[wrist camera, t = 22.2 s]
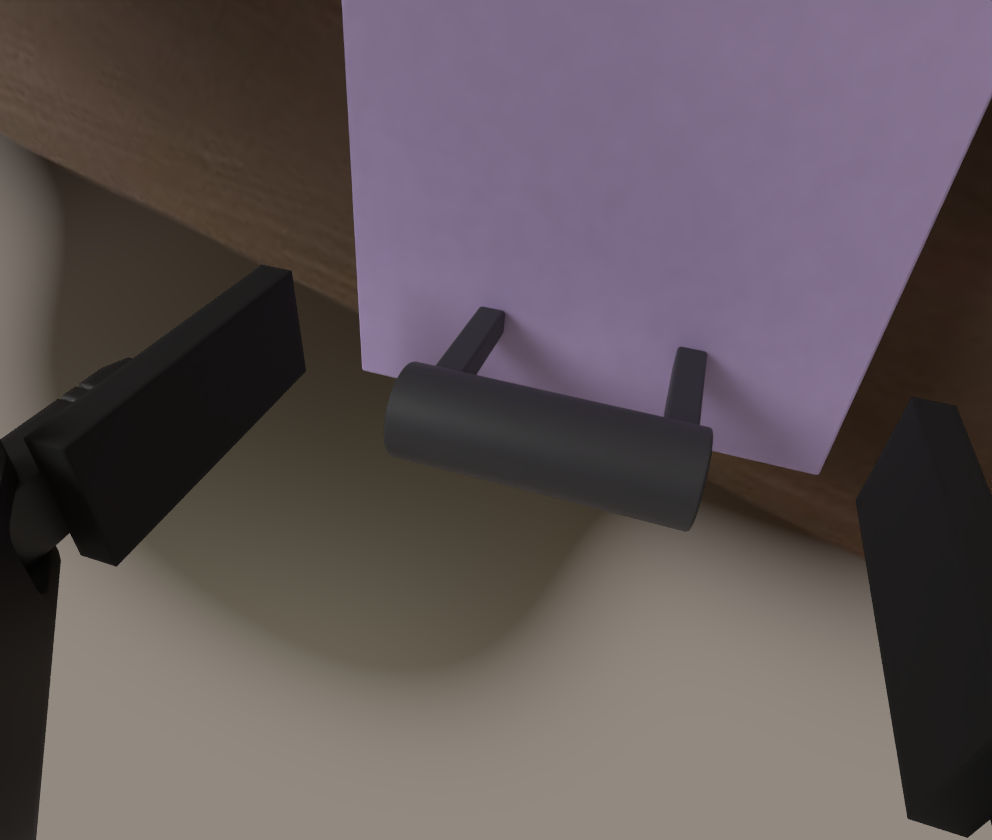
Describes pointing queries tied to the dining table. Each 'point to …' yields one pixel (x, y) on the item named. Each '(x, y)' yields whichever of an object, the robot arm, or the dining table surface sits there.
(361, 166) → the file box lid
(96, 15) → the dining table surface
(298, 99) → the dining table surface
